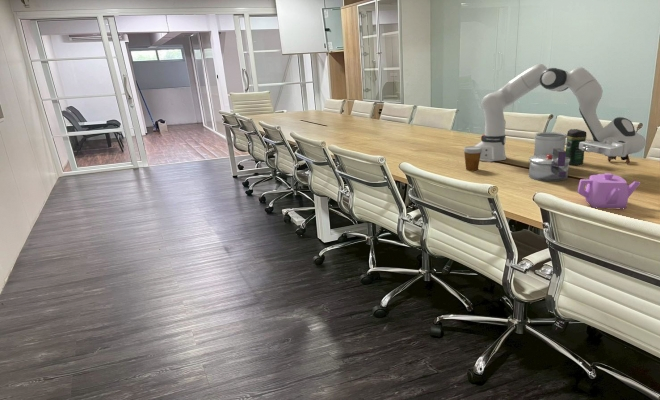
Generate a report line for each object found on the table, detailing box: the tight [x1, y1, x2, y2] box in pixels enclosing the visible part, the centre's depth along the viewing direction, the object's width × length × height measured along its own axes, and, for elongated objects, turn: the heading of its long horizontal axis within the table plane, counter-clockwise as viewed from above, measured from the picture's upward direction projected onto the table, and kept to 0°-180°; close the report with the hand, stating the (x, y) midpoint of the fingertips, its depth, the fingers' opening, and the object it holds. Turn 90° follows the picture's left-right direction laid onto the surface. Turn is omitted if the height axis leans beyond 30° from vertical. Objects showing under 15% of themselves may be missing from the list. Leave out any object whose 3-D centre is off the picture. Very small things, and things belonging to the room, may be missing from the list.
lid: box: [529, 148, 570, 166], centre depth 203 cm, size 25×18×8 cm
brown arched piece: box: [607, 154, 631, 165], centre depth 228 cm, size 12×10×8 cm
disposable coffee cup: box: [462, 145, 482, 172], centre depth 232 cm, size 10×10×12 cm
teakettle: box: [576, 172, 641, 210], centre depth 168 cm, size 17×17×12 cm
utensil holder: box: [533, 131, 567, 156], centre depth 226 cm, size 15×15×18 cm
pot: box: [528, 160, 570, 182], centre depth 206 cm, size 31×17×8 cm, turn 171°
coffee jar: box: [565, 128, 587, 166], centre depth 229 cm, size 10×8×19 cm
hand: (585, 149), depth 196 cm, fingers closed
